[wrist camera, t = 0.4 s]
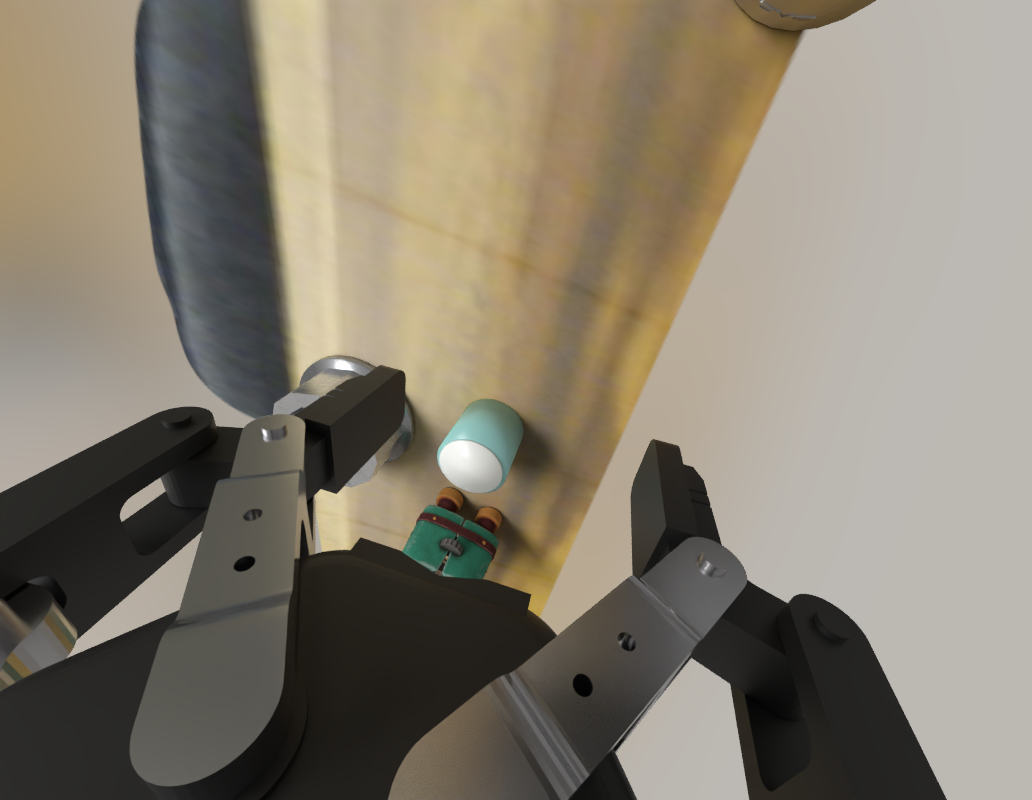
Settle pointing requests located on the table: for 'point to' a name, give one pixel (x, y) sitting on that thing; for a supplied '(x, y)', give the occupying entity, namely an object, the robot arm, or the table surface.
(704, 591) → the robot arm
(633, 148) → the table surface
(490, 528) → the binoculars
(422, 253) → the table surface
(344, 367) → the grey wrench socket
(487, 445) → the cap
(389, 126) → the table surface
